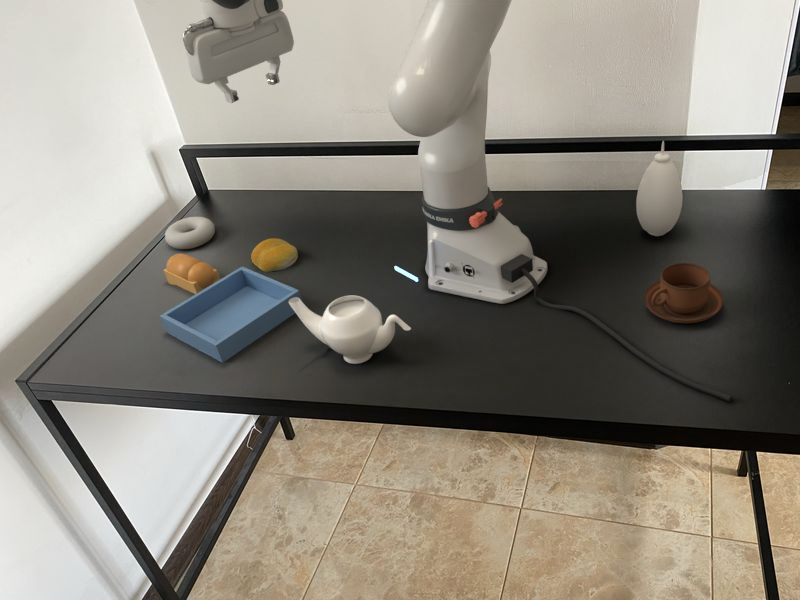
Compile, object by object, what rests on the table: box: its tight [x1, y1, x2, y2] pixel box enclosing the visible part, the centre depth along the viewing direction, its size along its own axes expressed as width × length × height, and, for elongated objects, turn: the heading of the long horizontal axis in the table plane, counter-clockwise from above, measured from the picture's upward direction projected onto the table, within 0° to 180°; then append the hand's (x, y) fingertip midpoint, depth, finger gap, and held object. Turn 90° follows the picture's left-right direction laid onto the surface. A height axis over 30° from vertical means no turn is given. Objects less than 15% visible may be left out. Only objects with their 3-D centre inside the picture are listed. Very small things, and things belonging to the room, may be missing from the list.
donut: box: [164, 216, 216, 250], centre depth 153 cm, size 10×4×10 cm
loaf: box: [162, 253, 221, 295], centre depth 139 cm, size 11×5×5 cm, turn 52°
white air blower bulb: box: [635, 140, 684, 237], centre depth 132 cm, size 8×8×18 cm
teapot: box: [289, 294, 412, 365], centre depth 115 cm, size 10×20×9 cm, turn 72°
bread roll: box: [250, 237, 299, 273], centre depth 142 cm, size 8×9×4 cm
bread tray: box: [159, 266, 303, 363], centre depth 127 cm, size 16×18×4 cm
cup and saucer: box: [643, 262, 724, 324], centre depth 117 cm, size 12×12×6 cm
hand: (254, 92), depth 133 cm, fingers open, 8 cm apart
